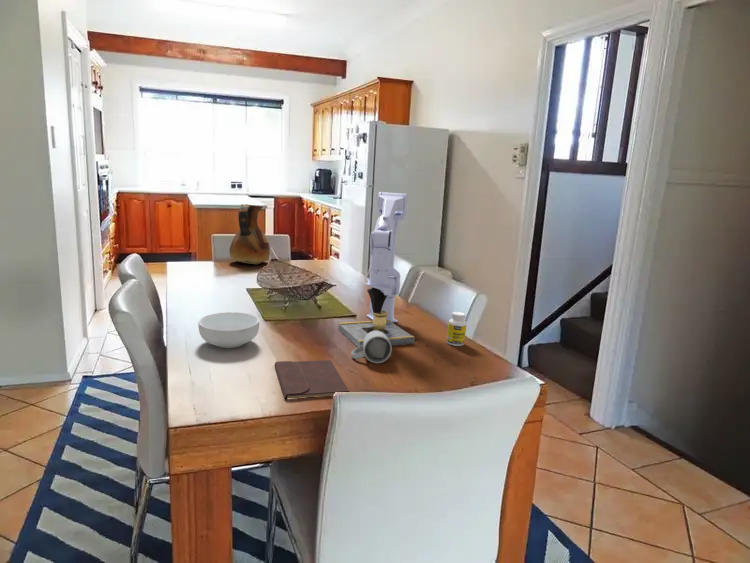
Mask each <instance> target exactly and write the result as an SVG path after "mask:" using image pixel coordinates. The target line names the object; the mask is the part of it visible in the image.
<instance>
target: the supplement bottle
mask: <svg viewBox="0 0 750 563" xmlns="http://www.w3.org/2000/svg"><path fill="white" fill-rule="evenodd" d="M466 331H467V321H466V314H465V312H461V311H453V312H451V318H449V321H448V327H447V337H446V343H447V344H448V345H449V346H452V345H453V347H461V346H462V347H463V346H464V345H465V342H466V341H465V338H466Z"/></svg>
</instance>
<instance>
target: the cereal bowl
mask: <svg viewBox="0 0 750 563" xmlns="http://www.w3.org/2000/svg"><path fill="white" fill-rule="evenodd" d="M259 330H260V319H259V317H258V316H256V315H254V314H251V313H247V312H240V311H239V312H238V311H237V312H236V311H232V312H229V311H228V312H227V311H225V312H217V313H211V314H207V315H206V316H203V317H201V318H200V319H199V320H198V333H199V335H200V337H201V338H202V339H203V341H205V342H207V344H210V345H214V346H216V347H218V348H222V349H234V348H239V347H241V346H243V345H245V344H246V343H250V342H251V341H252V340H253V339H254V338H256V336H257V335H258V333H259Z"/></svg>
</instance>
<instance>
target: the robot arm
mask: <svg viewBox="0 0 750 563" xmlns="http://www.w3.org/2000/svg"><path fill="white" fill-rule="evenodd" d="M377 194H378V195H377V199H376V200H377V202H376V206H377V207H376V208H377V214H378V218H377V219H376V222H375V223H376V224H375V227H374V230H372V231H371V232H370V237H369V245H370V250H369V252H370V253H369V254H370V267H369V268H370V269H369V277H368V278H366V282H365V286H366V287H370V288H368V289H367V293H368V295H369V309H368V310H369V314H366V317H367V318H369V319H370V320H371V321H373V317H374V315H373V312H374V313H381V310H383V311H386V312H388V314H387V316H386V320H390V321H391V322H392V323H398V320H397V319H396V318H394V317H395V316H394V315H395V300H396V296H398V295H399V294H400V290H401V274H400V272H399V271H398V269H396V268H395V266H394V265H395V263H394V262H395V256H396V246H397V235H398V227H399V224H400V222H401V221H402V220H405V218H406V216H407V209H408V194H407V193H405V192H404V193H400V192H385V191H379V192H378V193H377Z"/></svg>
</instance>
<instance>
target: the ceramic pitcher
mask: <svg viewBox="0 0 750 563" xmlns="http://www.w3.org/2000/svg"><path fill="white" fill-rule="evenodd" d="M263 207H264V206H262V205H255V204H248V203H245V204H240V207H239V210H238V212H237V213H238V214H237V215H238V218H237V219H238V225H239V230H238V231H237V232H236V233H235V235H234V236H233V239H232V241H231V243H230V247H229V257H230V258H231V260H233V261H236V262H239V263H244V264H253V265H259V264H261V263H264V262H267V261H268V260H269V259H270V254H271V250H270V248H271V247H270V243H269V239H268V238H267V236H266V234H265V233H264V232H263V230H261V229H260V228H259V226H258V225H259V224H258V216H259V212H260V211H261V210H262V209H263Z"/></svg>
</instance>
